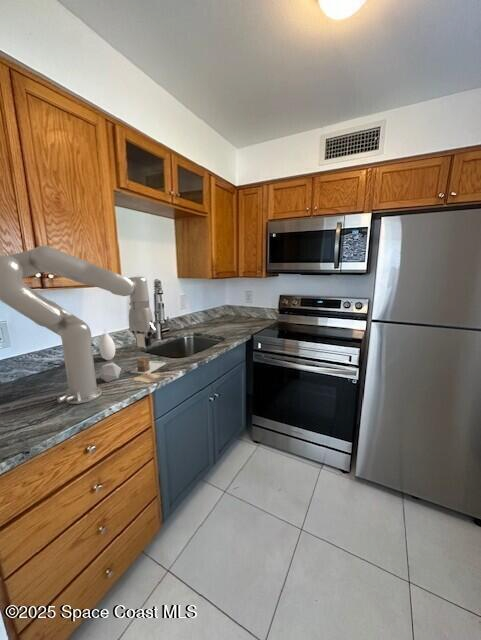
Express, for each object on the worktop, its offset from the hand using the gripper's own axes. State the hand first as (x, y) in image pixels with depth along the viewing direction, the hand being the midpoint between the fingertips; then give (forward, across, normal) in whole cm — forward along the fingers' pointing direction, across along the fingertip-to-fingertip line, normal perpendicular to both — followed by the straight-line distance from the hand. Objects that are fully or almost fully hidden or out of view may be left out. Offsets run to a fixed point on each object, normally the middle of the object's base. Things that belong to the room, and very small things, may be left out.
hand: (143, 344), depth 120 cm
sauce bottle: (+16, -38, +16) cm, 44 cm away
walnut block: (+16, -7, +7) cm, 19 cm away
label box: (0, 0, 0) cm, 0 cm away
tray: (+16, -7, +11) cm, 21 cm away
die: (+16, -15, -6) cm, 23 cm away
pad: (+16, 0, 0) cm, 16 cm away
